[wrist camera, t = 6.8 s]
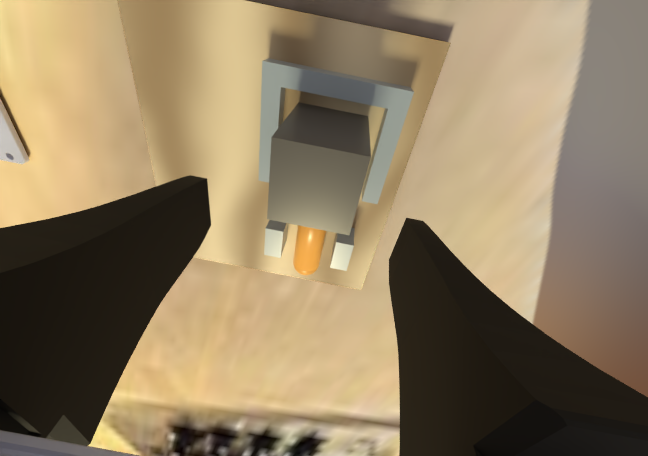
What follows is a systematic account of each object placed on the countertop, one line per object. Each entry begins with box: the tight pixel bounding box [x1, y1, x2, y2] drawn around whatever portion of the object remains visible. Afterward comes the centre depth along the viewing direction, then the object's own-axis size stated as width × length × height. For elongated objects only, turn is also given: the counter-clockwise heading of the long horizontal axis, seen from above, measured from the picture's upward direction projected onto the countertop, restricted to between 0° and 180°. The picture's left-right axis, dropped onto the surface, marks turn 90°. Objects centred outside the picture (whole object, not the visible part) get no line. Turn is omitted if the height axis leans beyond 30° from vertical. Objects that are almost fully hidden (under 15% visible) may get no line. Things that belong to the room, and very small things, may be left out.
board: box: [117, 0, 451, 290], centre depth 19 cm, size 16×18×1 cm
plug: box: [267, 102, 371, 275], centre depth 17 cm, size 4×12×6 cm, turn 171°
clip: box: [264, 220, 355, 271], centre depth 21 cm, size 6×2×2 cm, turn 81°
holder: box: [259, 58, 414, 204], centre depth 17 cm, size 8×7×1 cm
